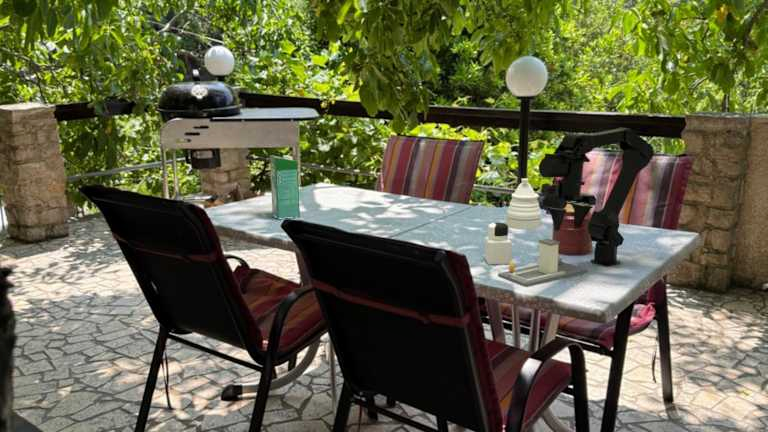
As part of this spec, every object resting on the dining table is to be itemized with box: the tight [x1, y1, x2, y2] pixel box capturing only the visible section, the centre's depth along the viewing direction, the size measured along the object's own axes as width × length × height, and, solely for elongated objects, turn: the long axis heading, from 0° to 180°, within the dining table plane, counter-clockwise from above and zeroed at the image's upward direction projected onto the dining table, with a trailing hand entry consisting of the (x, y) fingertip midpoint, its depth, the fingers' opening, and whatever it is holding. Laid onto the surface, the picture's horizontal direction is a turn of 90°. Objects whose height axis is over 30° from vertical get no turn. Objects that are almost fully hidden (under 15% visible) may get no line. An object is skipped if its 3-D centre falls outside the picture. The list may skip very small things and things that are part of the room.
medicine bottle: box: [484, 222, 513, 265], centre depth 227 cm, size 7×7×12 cm
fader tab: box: [538, 238, 560, 274], centre depth 212 cm, size 3×5×10 cm
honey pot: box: [505, 178, 543, 231], centre depth 272 cm, size 13×13×18 cm
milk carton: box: [269, 154, 301, 220], centre depth 292 cm, size 9×9×25 cm
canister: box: [551, 204, 594, 256], centre depth 237 cm, size 13×13×18 cm
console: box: [497, 257, 589, 288], centre depth 214 cm, size 24×12×4 cm, turn 122°
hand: (566, 229), depth 215 cm, fingers open, 9 cm apart
